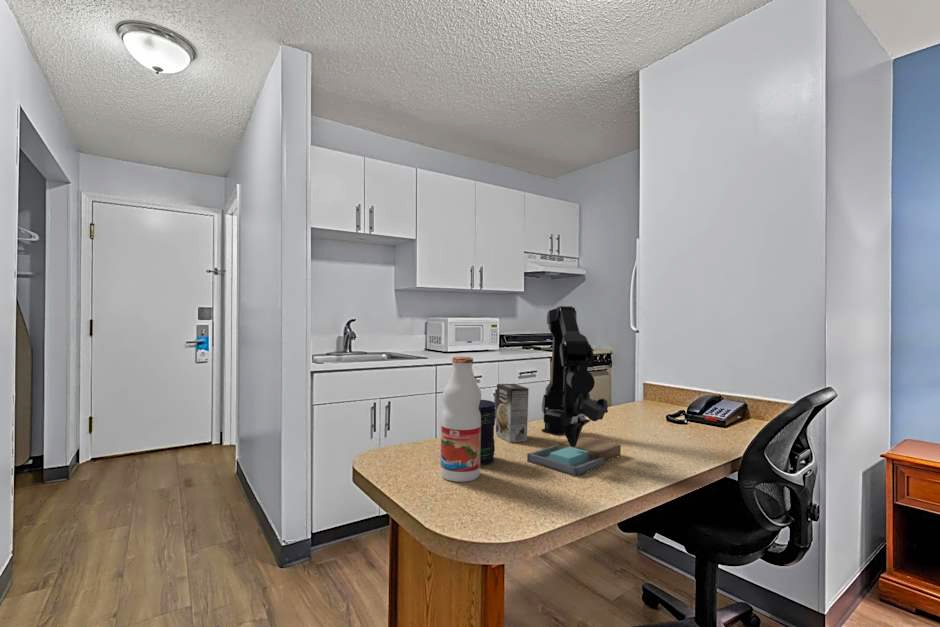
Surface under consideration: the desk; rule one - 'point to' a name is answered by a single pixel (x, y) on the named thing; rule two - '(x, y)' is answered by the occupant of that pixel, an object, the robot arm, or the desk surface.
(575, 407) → the robot arm
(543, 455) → the tray
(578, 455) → the teal sponge
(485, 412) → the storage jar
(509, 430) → the coffee box
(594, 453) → the deck
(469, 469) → the fruit juice
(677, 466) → the desk surface
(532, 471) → the desk surface
